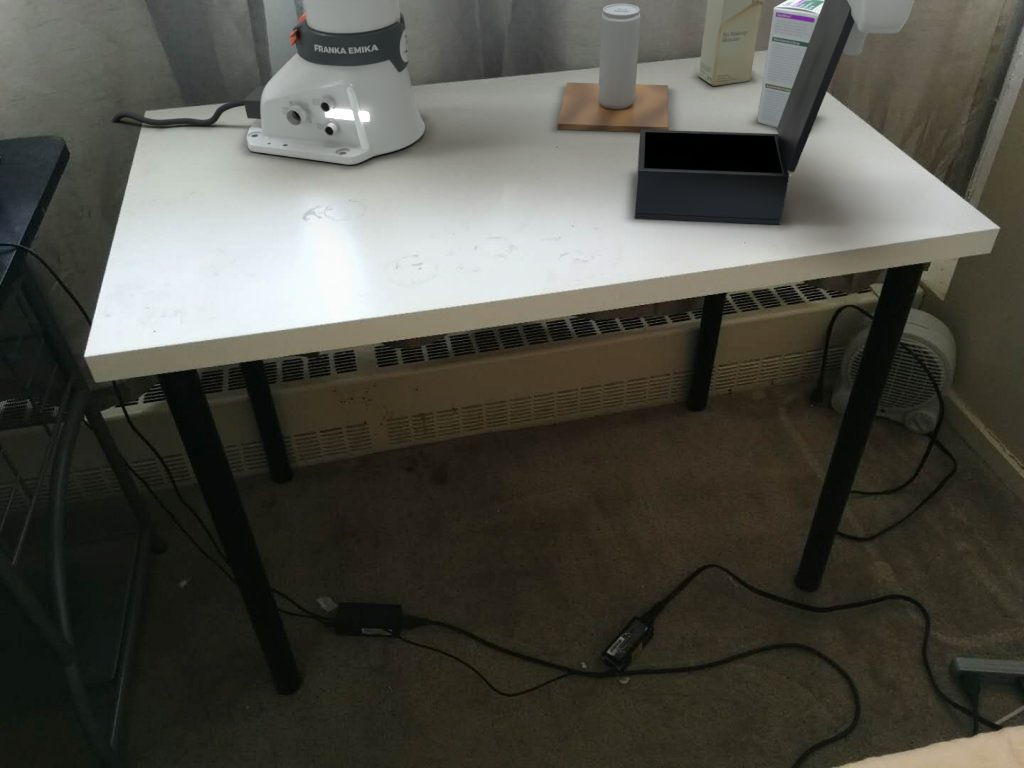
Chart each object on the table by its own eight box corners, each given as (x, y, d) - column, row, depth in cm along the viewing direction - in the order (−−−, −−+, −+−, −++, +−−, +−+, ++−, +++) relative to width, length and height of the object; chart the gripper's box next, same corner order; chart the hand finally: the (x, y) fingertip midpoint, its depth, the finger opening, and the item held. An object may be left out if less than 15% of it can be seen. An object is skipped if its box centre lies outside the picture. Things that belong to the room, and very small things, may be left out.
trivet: (557, 129, 110) (557, 123, 110) (566, 87, 121) (566, 82, 120) (667, 133, 108) (668, 127, 108) (667, 90, 119) (668, 84, 119)
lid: (850, 8, 76) (859, 9, 76) (833, -25, 84) (841, -23, 84) (786, 171, 87) (794, 172, 87) (776, 128, 94) (783, 130, 94)
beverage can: (604, 94, 116) (608, 1, 109) (638, 99, 115) (645, 5, 107) (593, 108, 113) (596, 13, 105) (628, 112, 112) (634, 16, 104)
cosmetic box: (712, 87, 120) (724, -5, 112) (696, 76, 123) (707, -14, 115) (752, 80, 121) (766, -11, 113) (735, 70, 124) (748, -20, 116)
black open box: (634, 218, 92) (638, 170, 89) (636, 175, 100) (640, 129, 96) (779, 225, 90) (789, 176, 87) (770, 180, 98) (779, 133, 95)
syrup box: (798, 133, 107) (822, 12, 98) (754, 122, 110) (773, 4, 101) (816, 118, 111) (841, -1, 101) (773, 108, 114) (793, -8, 104)
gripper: (831, -135, 82) (802, 15, 91) (869, -85, 67) (830, 89, 76) (899, -134, 82) (863, 16, 91) (954, -85, 66) (904, 91, 75)
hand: (848, 50), depth 83 cm, fingers closed, pressing on lid
